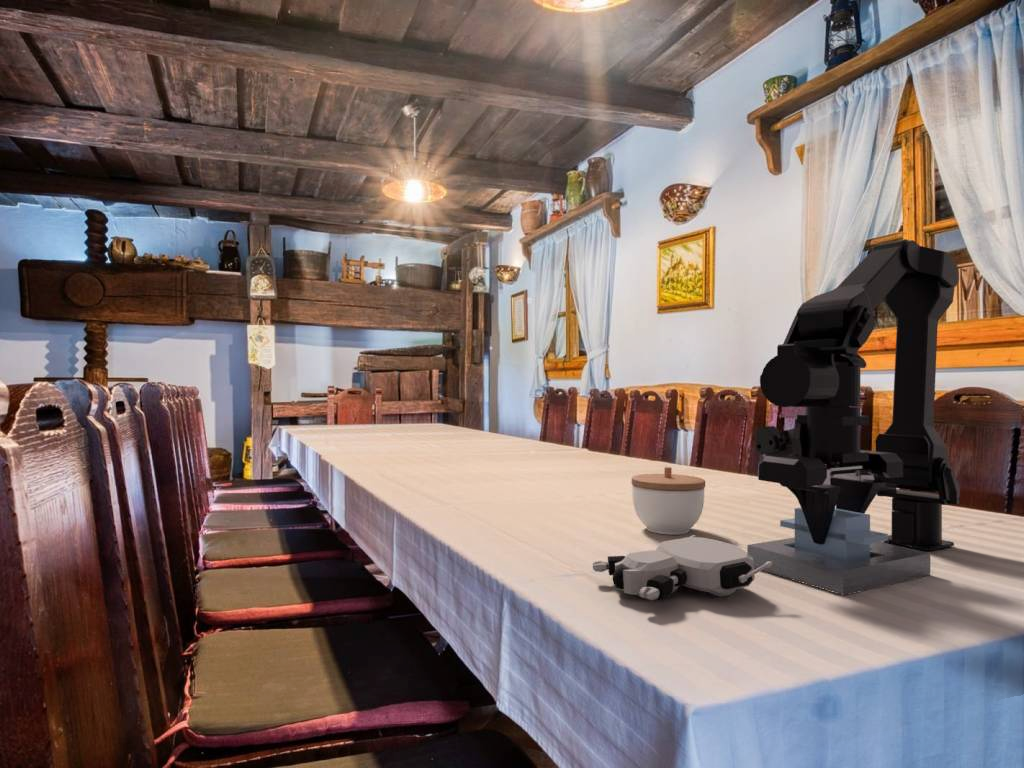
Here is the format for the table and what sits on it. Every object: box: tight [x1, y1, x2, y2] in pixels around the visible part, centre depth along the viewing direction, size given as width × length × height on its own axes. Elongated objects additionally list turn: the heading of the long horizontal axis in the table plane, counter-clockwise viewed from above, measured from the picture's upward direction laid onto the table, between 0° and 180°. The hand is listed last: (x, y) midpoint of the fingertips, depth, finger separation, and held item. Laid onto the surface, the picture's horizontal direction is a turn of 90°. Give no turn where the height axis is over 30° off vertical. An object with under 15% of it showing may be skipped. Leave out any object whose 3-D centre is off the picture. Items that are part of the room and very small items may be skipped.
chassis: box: [746, 537, 931, 596], centre depth 72 cm, size 16×12×2 cm
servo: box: [779, 507, 889, 562], centre depth 72 cm, size 6×10×5 cm, turn 29°
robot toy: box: [592, 534, 772, 602], centre depth 64 cm, size 12×4×15 cm
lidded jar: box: [631, 466, 706, 536], centre depth 93 cm, size 11×11×9 cm
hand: (831, 541), depth 72 cm, fingers closed on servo, 4 cm apart
